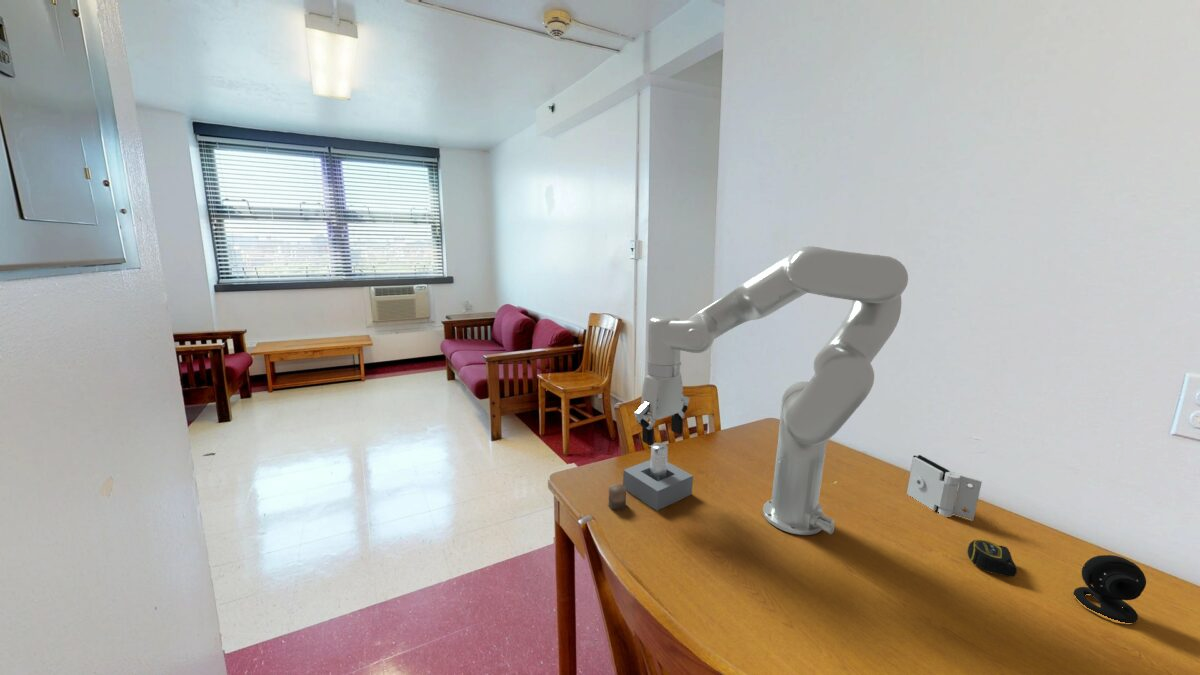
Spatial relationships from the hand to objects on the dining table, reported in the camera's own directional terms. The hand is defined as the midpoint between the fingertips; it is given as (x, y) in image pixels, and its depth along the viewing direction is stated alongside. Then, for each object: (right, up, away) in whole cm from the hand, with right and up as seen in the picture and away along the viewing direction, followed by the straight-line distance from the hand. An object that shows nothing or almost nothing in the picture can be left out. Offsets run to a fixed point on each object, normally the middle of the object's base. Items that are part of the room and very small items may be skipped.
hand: (662, 437), depth 109 cm
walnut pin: (-11, -15, -3) cm, 19 cm away
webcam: (+72, -23, -30) cm, 82 cm away
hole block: (-1, -14, +3) cm, 14 cm away
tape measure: (+61, -21, -21) cm, 68 cm away
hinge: (+65, -16, -1) cm, 68 cm away
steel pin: (-1, -14, +3) cm, 14 cm away
